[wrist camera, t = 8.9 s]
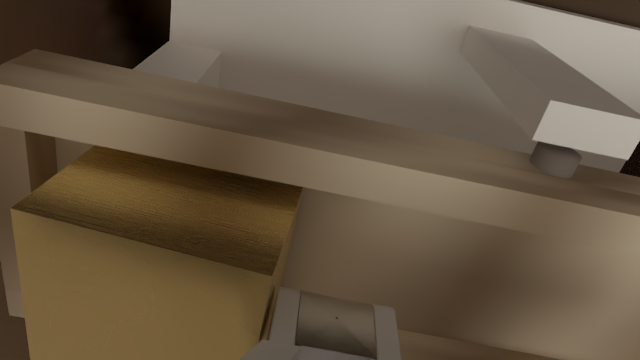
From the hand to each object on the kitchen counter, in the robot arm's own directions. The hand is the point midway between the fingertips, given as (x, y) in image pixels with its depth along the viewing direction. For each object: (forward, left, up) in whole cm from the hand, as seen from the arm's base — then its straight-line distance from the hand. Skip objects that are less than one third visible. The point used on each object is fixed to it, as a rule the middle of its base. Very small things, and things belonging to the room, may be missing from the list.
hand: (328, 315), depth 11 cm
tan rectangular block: (+3, +3, -2) cm, 4 cm away
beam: (-4, -4, -6) cm, 8 cm away
